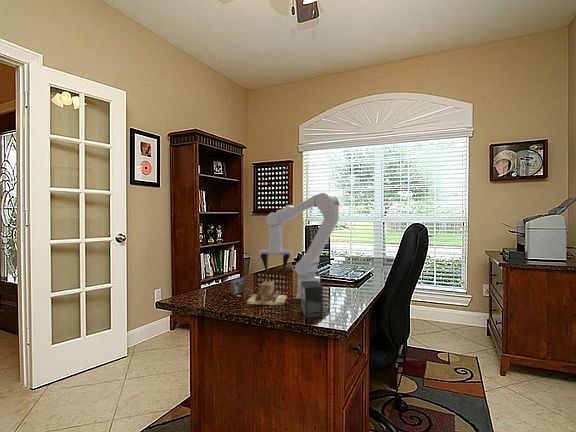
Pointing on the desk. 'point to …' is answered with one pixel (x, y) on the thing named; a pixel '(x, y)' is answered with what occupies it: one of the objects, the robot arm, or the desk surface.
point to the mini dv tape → (237, 286)
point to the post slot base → (275, 300)
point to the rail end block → (267, 290)
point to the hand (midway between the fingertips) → (275, 271)
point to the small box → (312, 299)
